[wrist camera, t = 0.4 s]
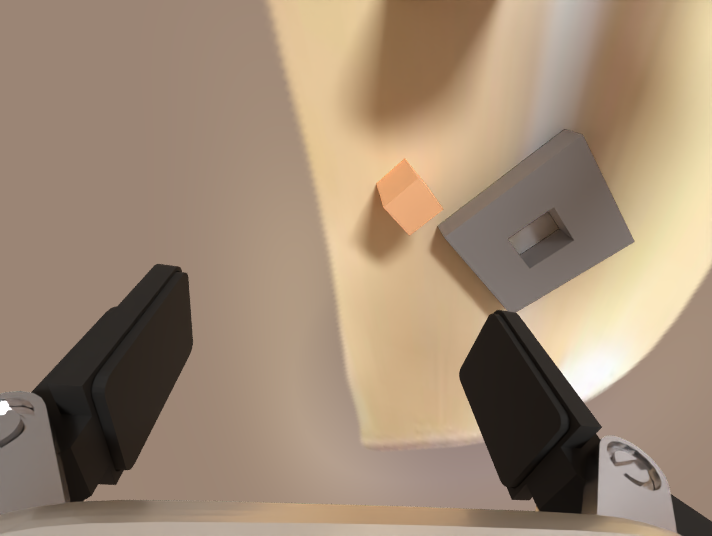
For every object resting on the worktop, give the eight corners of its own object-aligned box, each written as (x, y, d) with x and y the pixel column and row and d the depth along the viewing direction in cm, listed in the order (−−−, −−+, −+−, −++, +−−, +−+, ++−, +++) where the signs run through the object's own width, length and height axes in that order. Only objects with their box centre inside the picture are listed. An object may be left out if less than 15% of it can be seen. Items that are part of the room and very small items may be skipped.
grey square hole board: (564, 129, 34) (582, 134, 31) (616, 230, 40) (634, 241, 38) (437, 226, 39) (444, 237, 36) (501, 301, 46) (511, 315, 43)
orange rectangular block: (404, 158, 35) (418, 178, 29) (426, 185, 36) (443, 209, 30) (376, 183, 36) (383, 207, 30) (398, 208, 38) (409, 235, 32)
